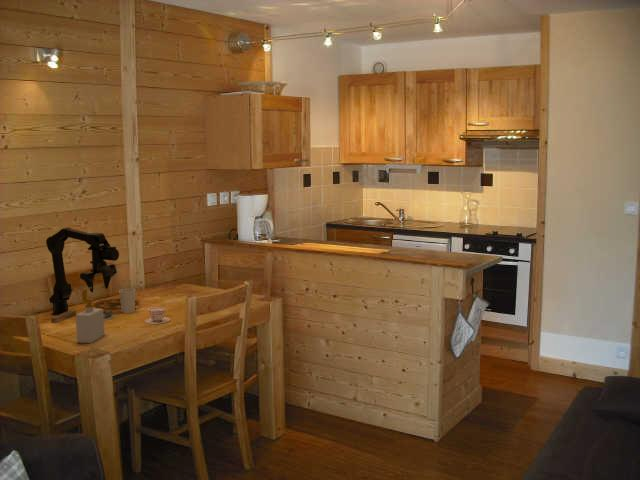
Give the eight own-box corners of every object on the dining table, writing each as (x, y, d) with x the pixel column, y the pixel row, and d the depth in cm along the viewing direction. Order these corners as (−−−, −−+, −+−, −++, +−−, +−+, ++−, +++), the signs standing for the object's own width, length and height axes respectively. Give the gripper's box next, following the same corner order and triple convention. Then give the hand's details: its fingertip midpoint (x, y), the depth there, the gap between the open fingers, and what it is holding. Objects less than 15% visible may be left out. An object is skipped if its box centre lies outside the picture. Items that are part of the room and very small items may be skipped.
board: (75, 325, 331) (75, 323, 331) (95, 315, 349) (95, 313, 349) (98, 326, 329) (97, 324, 328) (117, 316, 346) (117, 314, 346)
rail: (51, 325, 333) (51, 318, 332) (70, 317, 347) (69, 310, 347) (58, 325, 332) (57, 318, 331) (76, 317, 346) (75, 310, 346)
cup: (132, 315, 348) (130, 292, 346) (117, 315, 349) (116, 291, 347) (139, 311, 355) (138, 288, 353) (124, 311, 357) (123, 288, 355)
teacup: (139, 323, 335) (139, 310, 334) (154, 317, 346) (153, 305, 345) (160, 325, 330) (160, 312, 329) (175, 319, 341) (174, 307, 340)
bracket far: (91, 317, 341) (90, 311, 341) (95, 315, 345) (95, 309, 345) (107, 318, 339) (106, 312, 339) (111, 316, 343) (111, 310, 343)
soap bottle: (90, 343, 302) (87, 290, 298) (76, 342, 303) (73, 290, 300) (105, 335, 314) (102, 284, 310) (91, 334, 315) (88, 284, 312)
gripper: (94, 264, 329) (96, 296, 331) (124, 258, 345) (125, 288, 347) (78, 261, 334) (79, 293, 337) (108, 255, 350) (109, 286, 353)
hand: (99, 290), depth 343 cm, fingers open, 9 cm apart
